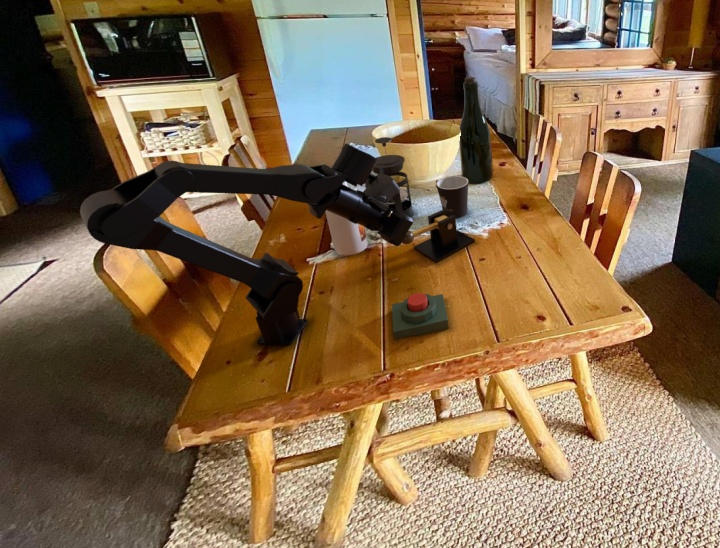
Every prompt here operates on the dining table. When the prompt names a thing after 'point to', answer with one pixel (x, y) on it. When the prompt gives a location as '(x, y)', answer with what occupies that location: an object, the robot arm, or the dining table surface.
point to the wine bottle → (474, 138)
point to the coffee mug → (453, 195)
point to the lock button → (417, 302)
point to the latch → (422, 230)
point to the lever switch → (443, 239)
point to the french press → (392, 167)
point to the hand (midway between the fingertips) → (405, 230)
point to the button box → (419, 318)
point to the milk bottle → (346, 234)
